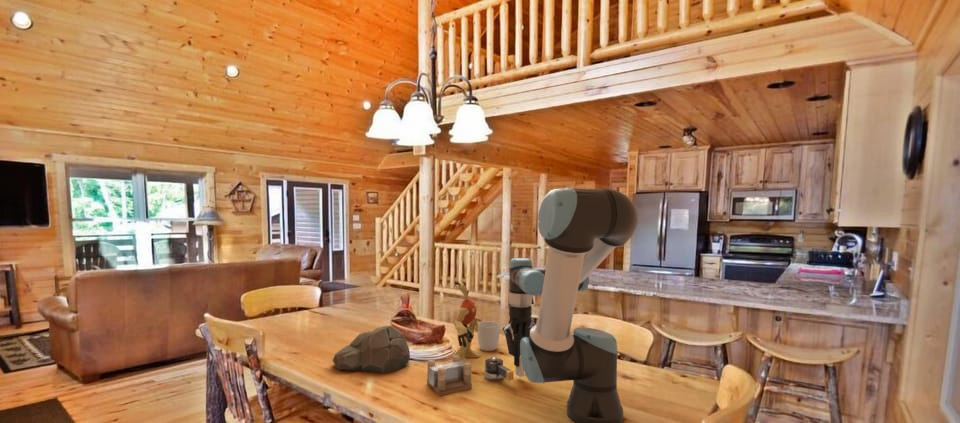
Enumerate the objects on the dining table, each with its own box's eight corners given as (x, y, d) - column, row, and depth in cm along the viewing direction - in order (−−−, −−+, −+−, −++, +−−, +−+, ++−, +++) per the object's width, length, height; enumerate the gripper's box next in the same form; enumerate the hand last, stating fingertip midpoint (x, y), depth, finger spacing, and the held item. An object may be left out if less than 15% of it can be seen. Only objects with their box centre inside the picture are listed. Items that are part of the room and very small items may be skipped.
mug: (496, 353, 165) (496, 328, 165) (474, 351, 168) (474, 326, 168) (503, 343, 177) (503, 320, 177) (483, 341, 180) (483, 318, 180)
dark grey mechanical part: (482, 368, 143) (482, 356, 143) (496, 365, 146) (496, 353, 146) (503, 382, 132) (503, 369, 132) (518, 378, 135) (518, 365, 135)
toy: (470, 376, 142) (471, 288, 142) (446, 374, 144) (446, 286, 144) (483, 353, 165) (484, 277, 165) (462, 351, 167) (463, 276, 167)
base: (507, 378, 141) (507, 372, 141) (491, 382, 137) (491, 376, 137) (496, 371, 146) (496, 366, 146) (481, 375, 143) (481, 369, 143)
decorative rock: (325, 371, 145) (327, 327, 146) (355, 354, 167) (356, 316, 168) (397, 377, 140) (398, 332, 141) (418, 360, 162) (420, 320, 163)
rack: (472, 388, 133) (472, 364, 133) (439, 396, 127) (439, 371, 127) (457, 376, 142) (457, 354, 141) (426, 383, 136) (426, 360, 136)
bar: (468, 379, 136) (468, 364, 135) (434, 387, 130) (434, 371, 130) (462, 375, 139) (462, 360, 139) (428, 382, 133) (429, 366, 133)
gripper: (529, 300, 146) (528, 368, 146) (497, 304, 140) (497, 375, 140) (542, 304, 140) (542, 375, 140) (510, 309, 133) (510, 383, 133)
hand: (519, 375), depth 140 cm, fingers closed
